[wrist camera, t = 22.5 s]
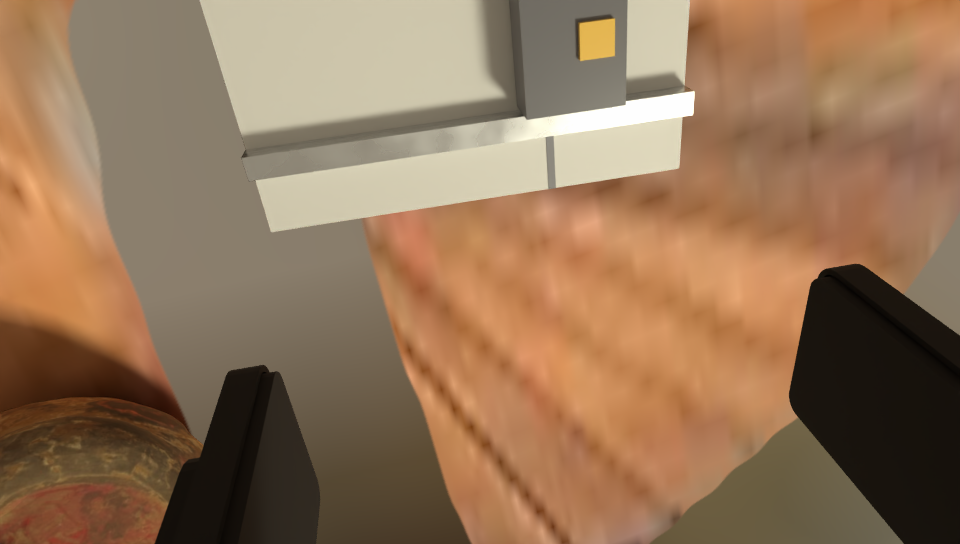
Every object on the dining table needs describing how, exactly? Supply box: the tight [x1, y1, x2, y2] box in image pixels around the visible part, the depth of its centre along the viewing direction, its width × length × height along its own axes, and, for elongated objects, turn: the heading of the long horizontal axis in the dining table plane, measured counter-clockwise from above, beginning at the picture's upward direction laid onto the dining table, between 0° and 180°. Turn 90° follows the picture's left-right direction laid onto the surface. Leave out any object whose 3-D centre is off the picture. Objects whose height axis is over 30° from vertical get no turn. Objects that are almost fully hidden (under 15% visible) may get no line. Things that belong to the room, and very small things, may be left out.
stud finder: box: [509, 0, 628, 120], centre depth 36 cm, size 8×6×3 cm
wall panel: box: [199, 0, 695, 232], centre depth 36 cm, size 24×28×4 cm
